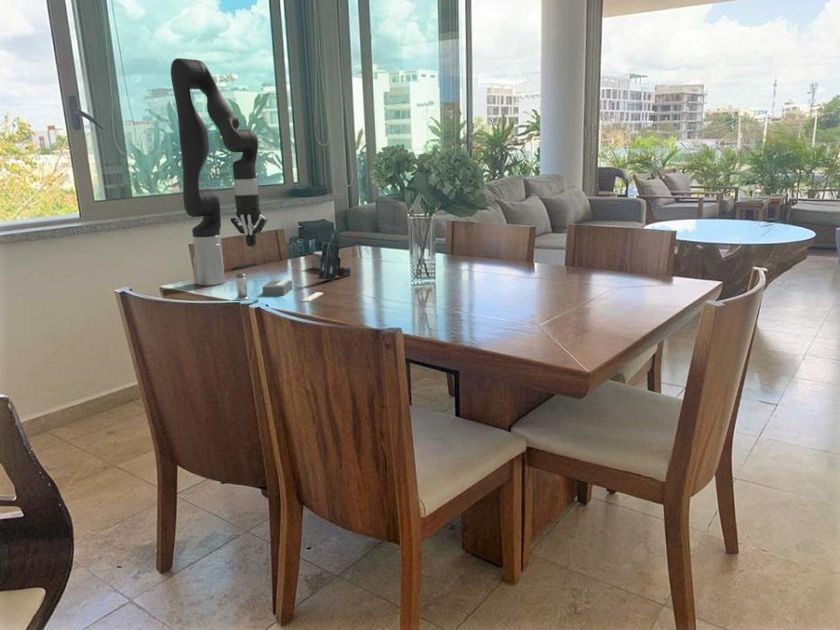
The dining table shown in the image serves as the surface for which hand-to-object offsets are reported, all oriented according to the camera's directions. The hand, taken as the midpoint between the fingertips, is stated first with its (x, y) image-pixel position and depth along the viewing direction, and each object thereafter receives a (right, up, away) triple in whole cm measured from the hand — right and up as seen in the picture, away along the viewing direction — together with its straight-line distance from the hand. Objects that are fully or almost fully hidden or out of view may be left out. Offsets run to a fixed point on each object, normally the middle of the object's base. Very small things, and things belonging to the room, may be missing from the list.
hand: (251, 246), depth 215 cm
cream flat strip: (+22, -17, -7) cm, 29 cm away
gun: (+25, -10, +20) cm, 34 cm away
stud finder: (+8, -15, +2) cm, 18 cm away
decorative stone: (+20, -5, +40) cm, 45 cm away
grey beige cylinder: (-1, -18, -7) cm, 19 cm away
